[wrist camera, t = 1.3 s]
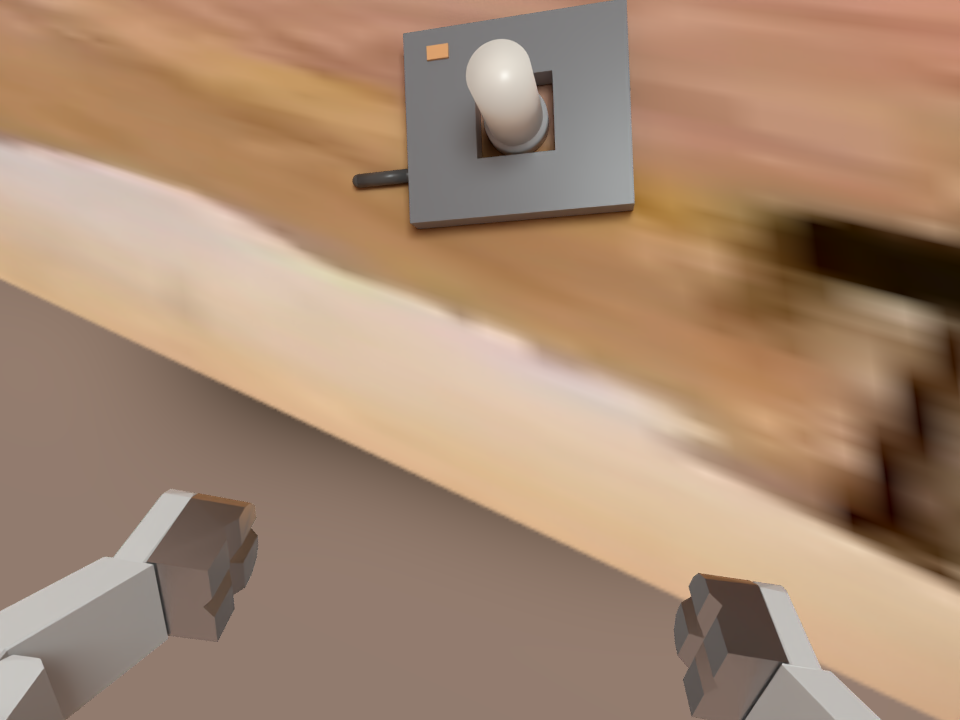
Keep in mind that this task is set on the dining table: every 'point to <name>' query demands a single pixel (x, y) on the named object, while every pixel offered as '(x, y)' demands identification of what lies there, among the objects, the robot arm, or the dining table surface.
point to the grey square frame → (530, 176)
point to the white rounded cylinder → (508, 97)
